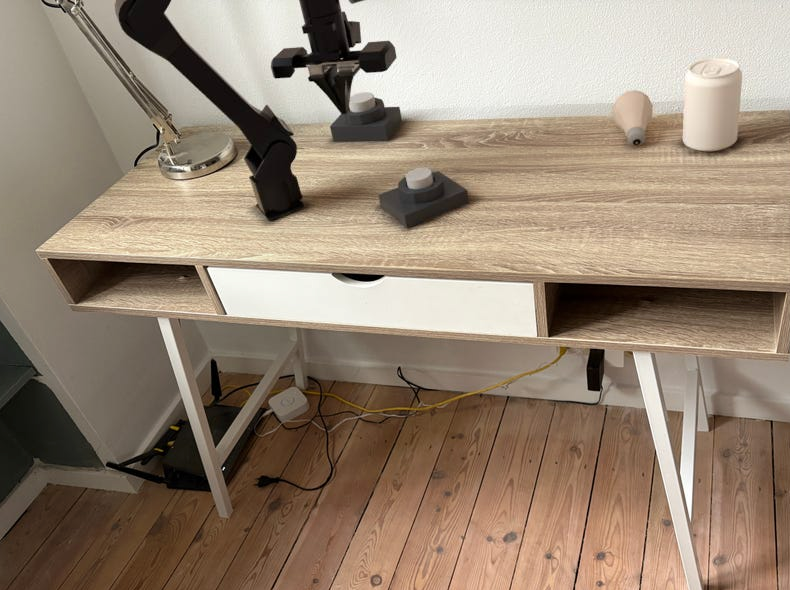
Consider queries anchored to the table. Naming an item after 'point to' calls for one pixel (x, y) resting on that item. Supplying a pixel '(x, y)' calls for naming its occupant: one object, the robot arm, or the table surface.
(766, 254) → the table surface
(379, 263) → the table surface
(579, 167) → the table surface
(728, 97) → the beverage can
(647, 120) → the light bulb
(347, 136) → the dark grey button mount
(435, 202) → the dark grey button base
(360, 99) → the large button
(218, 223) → the table surface
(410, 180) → the small button
